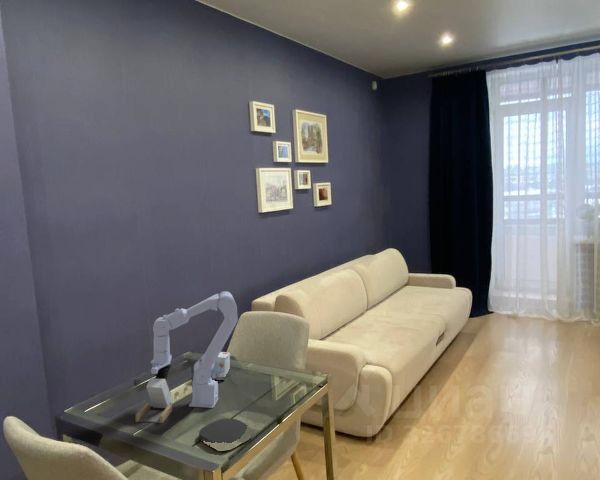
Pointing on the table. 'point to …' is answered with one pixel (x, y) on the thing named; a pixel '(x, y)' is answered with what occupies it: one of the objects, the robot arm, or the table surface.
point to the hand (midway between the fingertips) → (162, 384)
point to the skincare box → (159, 392)
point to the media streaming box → (223, 431)
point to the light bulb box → (221, 365)
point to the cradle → (152, 414)
